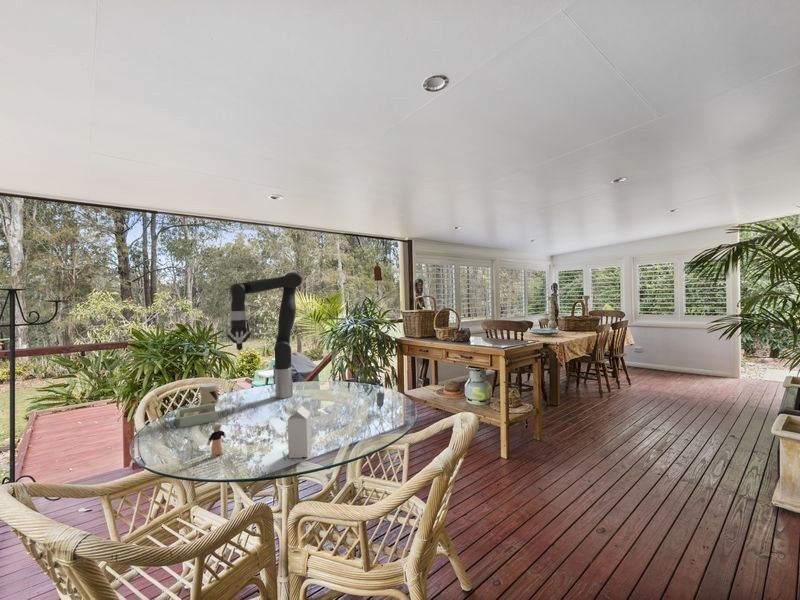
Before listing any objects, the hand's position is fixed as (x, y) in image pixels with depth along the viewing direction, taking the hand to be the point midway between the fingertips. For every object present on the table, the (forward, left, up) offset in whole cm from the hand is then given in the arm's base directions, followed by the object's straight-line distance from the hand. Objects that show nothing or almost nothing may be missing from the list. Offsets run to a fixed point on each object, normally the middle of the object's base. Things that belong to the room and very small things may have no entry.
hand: (239, 349), depth 197 cm
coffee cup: (+15, -8, -31) cm, 36 cm away
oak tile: (+24, +10, -31) cm, 41 cm away
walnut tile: (+18, +9, -31) cm, 37 cm away
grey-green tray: (+22, +12, -31) cm, 40 cm away
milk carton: (-10, +79, -31) cm, 86 cm away
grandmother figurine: (+17, +61, -31) cm, 71 cm away
